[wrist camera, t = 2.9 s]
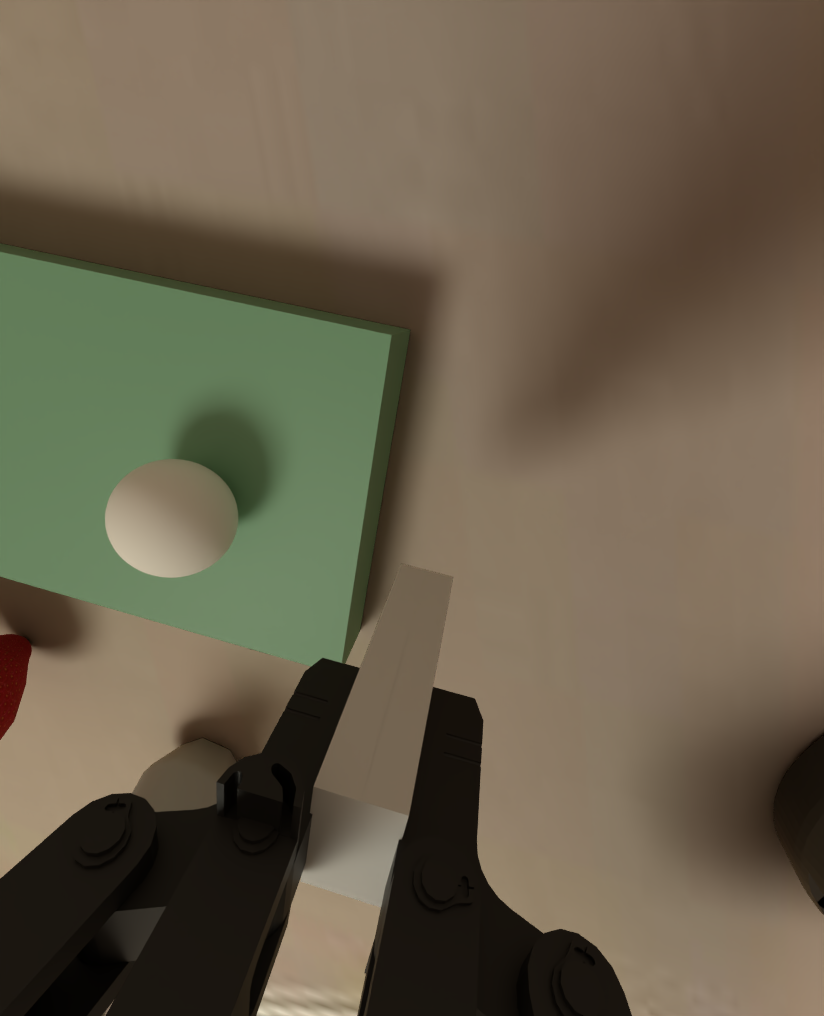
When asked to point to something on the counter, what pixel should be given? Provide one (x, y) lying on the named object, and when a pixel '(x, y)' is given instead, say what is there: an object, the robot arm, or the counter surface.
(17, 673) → the strawberry
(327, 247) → the counter surface
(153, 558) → the white ball
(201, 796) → the salt shaker
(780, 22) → the counter surface
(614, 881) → the counter surface
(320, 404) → the board
